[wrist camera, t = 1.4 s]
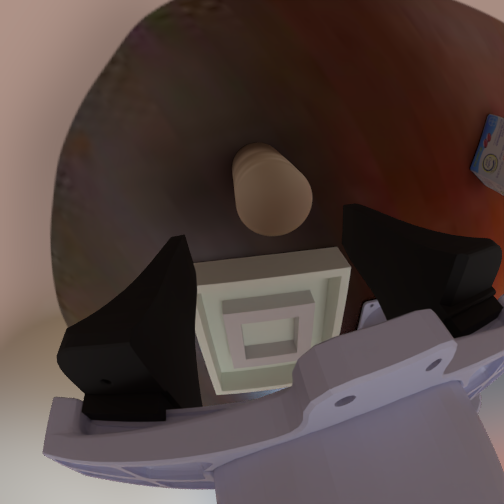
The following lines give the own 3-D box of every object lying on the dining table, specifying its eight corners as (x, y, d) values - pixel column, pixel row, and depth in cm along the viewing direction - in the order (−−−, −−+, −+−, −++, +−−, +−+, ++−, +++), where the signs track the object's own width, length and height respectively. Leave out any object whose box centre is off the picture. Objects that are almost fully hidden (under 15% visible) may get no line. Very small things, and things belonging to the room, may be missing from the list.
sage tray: (337, 246, 25) (351, 267, 22) (322, 358, 34) (329, 379, 31) (186, 263, 25) (182, 287, 22) (216, 372, 33) (216, 394, 30)
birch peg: (281, 140, 20) (312, 161, 13) (283, 189, 22) (311, 232, 15) (229, 145, 20) (232, 167, 13) (234, 193, 22) (239, 239, 15)
